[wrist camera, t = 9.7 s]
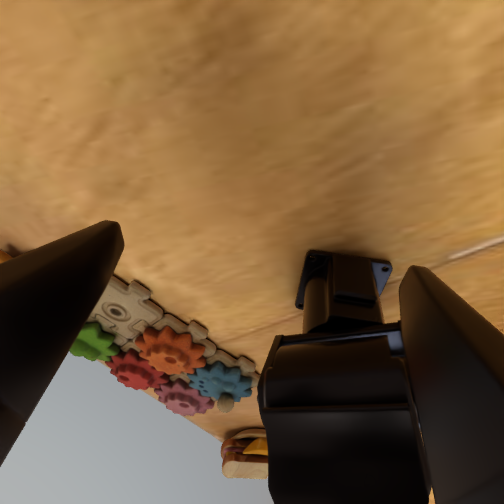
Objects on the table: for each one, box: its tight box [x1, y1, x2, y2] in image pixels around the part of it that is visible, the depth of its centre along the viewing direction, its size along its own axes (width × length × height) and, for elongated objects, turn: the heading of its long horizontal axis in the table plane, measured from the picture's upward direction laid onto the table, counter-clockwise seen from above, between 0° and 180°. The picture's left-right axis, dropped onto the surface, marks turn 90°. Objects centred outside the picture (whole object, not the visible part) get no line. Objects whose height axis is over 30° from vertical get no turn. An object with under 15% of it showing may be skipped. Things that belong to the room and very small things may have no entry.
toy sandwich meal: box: [221, 429, 268, 479], centre depth 48 cm, size 12×14×5 cm
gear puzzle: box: [0, 250, 260, 416], centre depth 34 cm, size 31×16×4 cm, turn 46°
